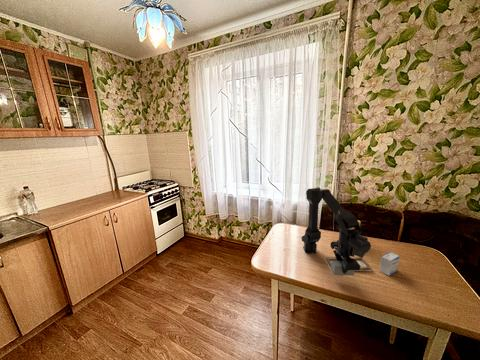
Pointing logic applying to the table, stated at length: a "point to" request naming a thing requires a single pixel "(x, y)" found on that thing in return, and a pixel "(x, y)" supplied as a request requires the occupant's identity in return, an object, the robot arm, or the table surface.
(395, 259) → the medicine box
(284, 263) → the table surface
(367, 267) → the tray
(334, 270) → the grey box with label
